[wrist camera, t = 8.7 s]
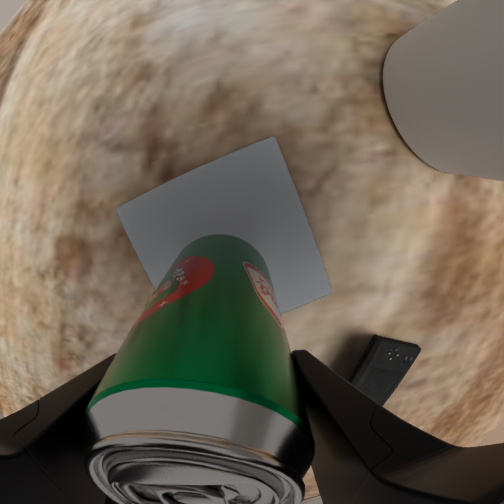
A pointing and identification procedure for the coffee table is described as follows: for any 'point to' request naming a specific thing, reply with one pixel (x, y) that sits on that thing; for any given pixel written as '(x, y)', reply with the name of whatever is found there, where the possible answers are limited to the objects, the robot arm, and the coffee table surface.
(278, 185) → the slate mat
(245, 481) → the soda can
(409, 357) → the handheld gaming console
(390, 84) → the cylinder vase
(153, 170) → the coffee table surface
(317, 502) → the small box
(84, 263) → the coffee table surface
